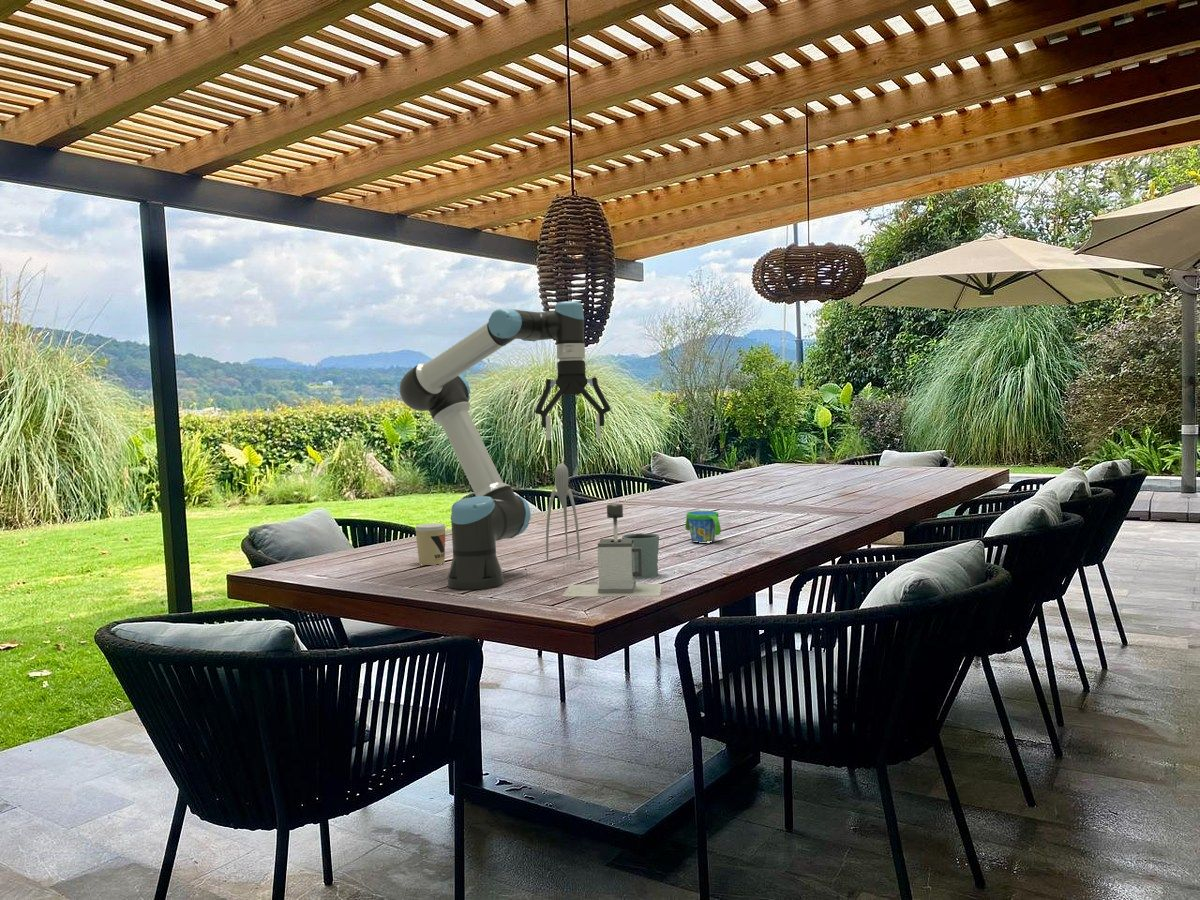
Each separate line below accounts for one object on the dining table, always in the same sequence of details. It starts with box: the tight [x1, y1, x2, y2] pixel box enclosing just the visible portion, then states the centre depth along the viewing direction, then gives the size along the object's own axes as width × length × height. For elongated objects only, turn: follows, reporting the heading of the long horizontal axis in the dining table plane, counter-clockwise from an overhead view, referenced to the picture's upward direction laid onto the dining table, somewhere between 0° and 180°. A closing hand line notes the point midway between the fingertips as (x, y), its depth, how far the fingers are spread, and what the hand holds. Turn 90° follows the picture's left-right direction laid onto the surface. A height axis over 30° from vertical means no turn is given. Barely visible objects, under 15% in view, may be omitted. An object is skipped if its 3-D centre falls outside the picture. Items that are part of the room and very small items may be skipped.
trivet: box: [562, 583, 663, 598], centre depth 231 cm, size 24×14×1 cm, turn 84°
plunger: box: [606, 503, 624, 542], centre depth 231 cm, size 6×6×18 cm
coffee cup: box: [414, 522, 447, 566], centre depth 284 cm, size 9×9×12 cm
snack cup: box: [685, 510, 722, 542], centre depth 308 cm, size 16×10×10 cm
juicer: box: [545, 462, 581, 562], centre depth 285 cm, size 10×9×30 cm
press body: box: [597, 538, 642, 593], centre depth 231 cm, size 11×9×12 cm
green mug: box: [621, 533, 660, 579], centre depth 249 cm, size 10×10×12 cm
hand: (573, 439), depth 246 cm, fingers open, 13 cm apart
